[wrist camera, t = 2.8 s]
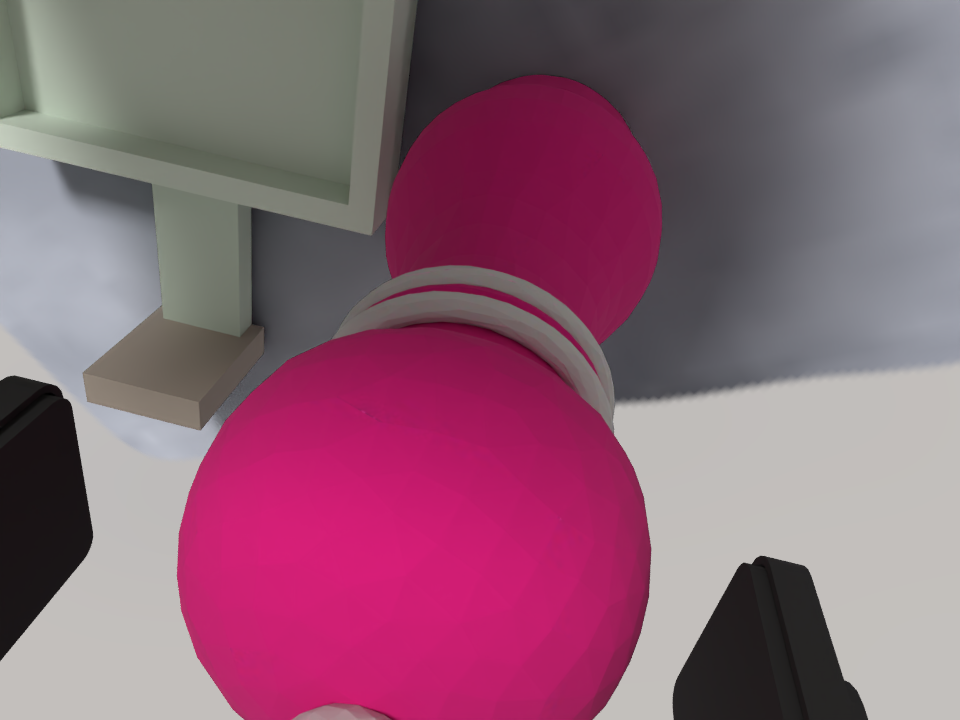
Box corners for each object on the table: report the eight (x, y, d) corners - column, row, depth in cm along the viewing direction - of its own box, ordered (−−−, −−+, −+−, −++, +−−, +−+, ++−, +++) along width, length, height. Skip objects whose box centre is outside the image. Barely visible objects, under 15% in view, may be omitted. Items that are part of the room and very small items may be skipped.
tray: (453, -315, 17) (395, -391, 12) (374, 380, 28) (329, 463, 24) (-67, -418, 17) (-289, -522, 13) (60, 302, 28) (-38, 369, 24)
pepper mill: (388, 196, 24) (-158, 854, 7) (515, 1, 20) (-20, 431, 3) (559, 318, 25) (429, 1110, 9) (707, 156, 21) (989, 1007, 5)
